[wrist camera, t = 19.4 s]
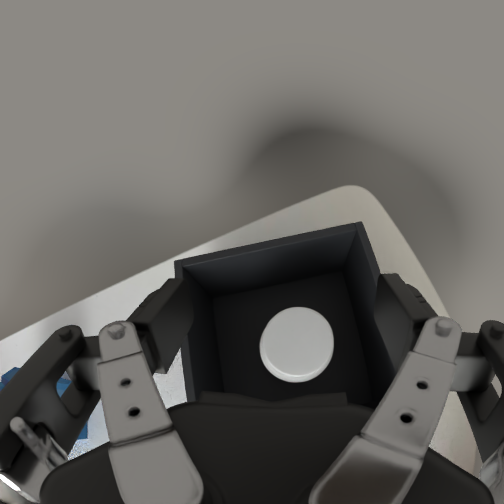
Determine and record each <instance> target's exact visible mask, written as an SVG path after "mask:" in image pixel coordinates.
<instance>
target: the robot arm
mask: <svg viewBox="0 0 504 504" xmlns="http://www.w3.org/2000/svg"><path fill="white" fill-rule="evenodd" d="M193 319H194V311H193V306H192V300H191V295H190V290H189V284H188V281H187V279H185V278H169V279H168V280H167V281H166V282H165V283H164V284H163V285H162V287H161V288H160V289H157V290H156V291H154V292H152V293H151V294H149V295H148V296H147V297H146V298H145V300H144V301H143V302H142V303H141V304H140V305H139V307H137V309H136V310H135V311H134V312H133V313H132V314H131V315H130V317H129V318H128V319H127V320H126V321H116V322H112V323H110V324H108V325H106V326H104V327H103V328H102V329H101V330H100V332H99V336H89V337H84V335H83V333H82V330H81V328H80V327H79V326H77V325H68V326H65V327H62V328H60V329H58V330H57V331H55V332H54V333H53V334H52V335H51V336H50V337H49V338H48V339H47V340H46V341H45V342H44V343H43V345H42V346H41V347H40V348H39V349H38V350H37V351H36V352H35V353H34V354H33V355H32V356H31V357H30V358H29V359H28V361H27V362H26V363H25V364H24V365H23V366H22V367H21V368H20V369H19V370H18V372H17V373H16V374H15V375H14V376H13V377H12V378H11V380H10V381H9V382H8V383H7V384H6V385H5V387H4V388H3V389H2V390H1V391H0V479H1V480H2V481H3V482H4V483H5V484H6V485H8V486H9V487H10V488H11V489H13V490H15V491H17V492H18V493H19V494H20V495H22V496H23V497H24V498H26V499H27V500H29V501H31V502H35V503H37V502H39V504H504V324H503V323H501V322H499V321H493V320H489V321H485V322H484V323H483V324H482V325H481V328H480V331H479V333H466V332H462V329H461V327H460V325H459V324H458V323H457V322H456V321H454V320H452V319H450V318H447V317H442V316H438V315H437V314H436V313H435V311H434V310H433V309H432V307H431V306H430V305H429V304H428V302H426V300H425V298H424V297H422V295H421V293H420V292H419V291H418V290H417V289H416V288H414V287H413V286H411V285H409V284H405V283H404V281H403V280H402V279H401V278H400V276H399V275H398V274H397V273H393V274H380V275H379V277H378V282H377V290H376V298H375V305H374V319H375V323H376V325H377V327H378V330H379V332H380V334H381V337H382V339H383V341H384V344H385V346H386V349H387V351H388V353H389V356H390V358H391V361H392V363H393V366H394V368H395V371H396V374H397V375H396V376H395V378H394V380H393V382H392V383H391V385H390V387H389V389H388V390H387V392H386V394H385V395H384V397H383V398H382V400H381V402H380V403H379V405H378V406H377V408H376V409H375V410H374V409H371V408H369V407H366V406H363V405H359V404H354V403H348V402H347V397H346V392H342V393H327V394H309V395H305V396H300V397H296V398H291V399H286V400H280V401H274V402H271V401H265V400H261V399H256V398H252V397H248V396H244V395H240V394H236V393H222V392H210V391H201V394H200V397H199V400H198V401H190V402H185V403H181V404H178V405H175V406H172V407H170V408H168V409H166V408H165V405H164V403H163V401H162V398H161V396H160V394H159V391H158V389H157V386H156V384H155V382H154V379H153V377H152V376H153V375H154V373H161V374H167V372H168V370H169V368H170V366H171V364H172V362H173V360H174V358H175V356H176V354H177V352H178V351H179V349H180V347H181V345H182V343H183V341H184V339H185V337H186V335H187V333H188V332H189V330H190V328H191V326H192V324H193ZM65 371H66V372H67V373H68V375H69V377H70V379H71V381H72V382H71V383H70V385H69V386H68V387H67V389H66V390H65V392H64V393H63V394H62V396H61V397H60V396H59V395H58V392H57V382H58V380H59V379H60V378H61V376H62V375H63V374H64V372H65ZM495 374H496V376H497V377H498V379H499V381H500V383H501V385H502V394H501V397H500V398H499V396H498V395H497V392H496V390H495V389H494V387H493V385H492V383H491V382H492V380H493V378H494V376H495ZM449 391H456V392H457V394H458V396H459V399H460V401H461V404H462V406H463V408H464V411H465V413H466V416H467V418H468V421H469V424H470V426H471V429H472V432H473V435H474V437H475V440H476V443H477V446H478V449H479V452H480V455H481V459H482V462H483V465H482V468H481V470H480V480H479V479H478V478H476V477H475V476H473V475H471V474H470V473H468V472H466V471H465V470H463V469H462V468H460V467H459V466H457V465H455V464H454V463H452V462H451V461H449V460H448V459H446V458H445V457H443V456H442V455H440V454H439V453H437V452H436V451H434V450H433V449H431V448H430V447H428V446H429V444H430V442H431V440H432V437H433V435H434V432H435V430H436V427H437V425H438V422H439V420H440V417H441V414H442V412H443V409H444V406H445V403H446V400H447V397H448V394H449ZM100 398H101V399H102V405H103V411H104V416H105V421H106V426H107V430H108V435H109V439H110V441H108V442H107V443H105V444H103V445H101V446H99V447H97V448H95V449H93V450H91V451H89V452H87V453H85V454H82V455H80V456H78V457H76V458H74V459H72V460H70V461H68V455H69V453H70V451H71V449H72V448H73V446H74V444H75V442H76V440H77V438H78V437H79V435H80V433H81V431H82V429H83V428H84V426H85V424H86V422H87V421H88V419H89V417H90V415H91V414H92V412H93V410H94V408H95V407H96V405H97V403H98V402H99V400H100ZM0 504H6V503H4V502H2V501H0ZM29 504H33V503H29Z"/></svg>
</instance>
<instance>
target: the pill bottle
mask: <svg viewBox="0 0 504 504" xmlns="http://www.w3.org/2000/svg"><path fill="white" fill-rule="evenodd" d="M333 349H334V337H333V332H332V329H331V327H330V325H329V323H328V322H327V320H326V319H325V318H324V317H323V316H322V315H321V314H320V313H318V312H316V311H314V310H312V309H309V308H305V307H292V308H288V309H285V310H283V311H281V312H279V313H278V314H276V315H275V316H274V317H273V318H272V319H271V320H270V321H269V323H268V324H267V326H266V328H265V329H264V331H263V333H262V336H261V340H260V355H261V358H262V361H263V363H264V365H265V367H266V368H267V369H268V371H269V372H270V373H272V374H273V375H274V376H275V377H277V378H279V379H281V380H284V381H287V382H294V383H297V382H305V381H308V380H311V379H313V378H315V377H317V376H318V375H319V374H320V373H322V372H323V371H324V369H325V368H326V367H327V366H328V364H329V362H330V360H331V358H332V354H333Z"/></svg>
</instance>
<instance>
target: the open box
mask: <svg viewBox="0 0 504 504" xmlns="http://www.w3.org/2000/svg"><path fill="white" fill-rule="evenodd" d="M174 269H175V278H185V279H187V281H188V284H189V290H190V295H191V300H192V306H193V311H194V319H193V324H192V326H191V328H190V330H189V332H188V333H187V335H186V337H185V339H184V341H183V343H182V345H181V347H180V348H181V357H182V366H183V374H184V381H185V389H186V396H187V402H190V401H198V400H199V397H200V394H201V391H210V392H222V393H236V394H240V395H244V396H248V397H252V398H256V399H261V400H265V401H271V402H274V401H280V400H286V399H291V398H296V397H300V396H305V395H309V394H327V393H342V392H346V397H347V402H348V403H354V404H359V405H363V406H366V407H369V408H371V409H374V410H375V409H376V408H377V406H378V405H379V403H380V402H381V400H382V398H383V397H384V395H385V394H386V392H387V390H388V389H389V387H390V385H391V383H392V382H393V380H394V378H395V376H396V375H397V374H396V371H395V368H394V366H393V363H392V361H391V358H390V356H389V353H388V351H387V349H386V346H385V344H384V341H383V339H382V337H381V334H380V332H379V330H378V327H377V325H376V323H375V319H374V305H375V298H376V290H377V282H378V277H379V275H380V274H381V273H380V270H379V267H378V264H377V261H376V258H375V255H374V252H373V250H372V247H371V244H370V241H369V239H368V236H367V233H366V231H365V228H364V225H363V223H362V221H361V222H356V223H351V224H346V225H341V226H336V227H331V228H326V229H322V230H317V231H312V232H307V233H302V234H298V235H293V236H288V237H283V238H278V239H274V240H269V241H264V242H259V243H255V244H250V245H245V246H241V247H236V248H231V249H227V250H222V251H217V252H213V253H208V254H203V255H199V256H194V257H189V258H185V259H180V260H176V261H174ZM292 307H305V308H309V309H312V310H314V311H316V312H318V313H320V314H321V315H322V316H323V317H324V318H325V319H326V320H327V322H328V323H329V325H330V327H331V329H332V332H333V337H334V349H333V354H332V358H331V360H330V362H329V364H328V366H327V367H326V368H325V369H324V371H323V372H322V373H320V374H319V375H318V376H317V377H315V378H313V379H311V380H308V381H305V382H297V383H294V382H287V381H284V380H281V379H279V378H277V377H275V376H274V375H273V374H272V373H270V372H269V371H268V369H267V368H266V367H265V365H264V363H263V361H262V358H261V355H260V340H261V336H262V333H263V331H264V329H265V328H266V326H267V324H268V323H269V321H270V320H271V319H272V318H273V317H274V316H275V315H276V314H278V313H279V312H281V311H283V310H285V309H288V308H292Z"/></svg>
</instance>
